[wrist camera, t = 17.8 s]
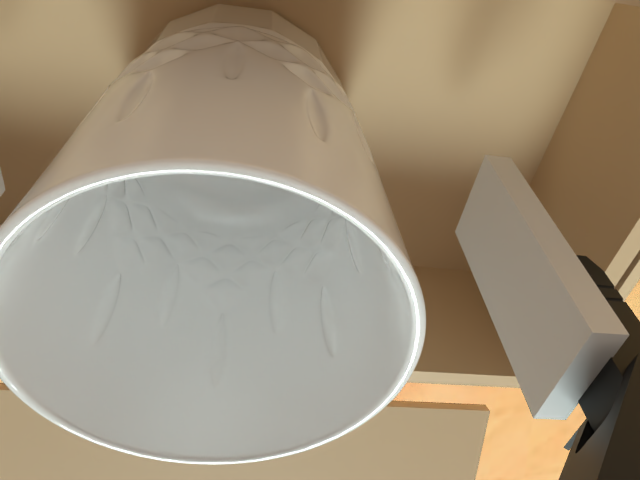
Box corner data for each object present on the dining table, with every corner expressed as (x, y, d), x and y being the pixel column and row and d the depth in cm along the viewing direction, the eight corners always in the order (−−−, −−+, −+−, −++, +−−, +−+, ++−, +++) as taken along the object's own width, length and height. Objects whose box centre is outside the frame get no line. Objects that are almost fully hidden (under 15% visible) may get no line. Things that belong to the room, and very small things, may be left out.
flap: (-71, 380, 16) (-62, 544, 18) (-79, 386, 16) (-70, 553, 17) (485, 404, 19) (455, 546, 20) (489, 411, 19) (459, 554, 20)
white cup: (136, -66, 14) (-35, 83, 6) (401, 37, 16) (514, 243, 9) (98, 176, 19) (-30, 437, 11) (311, 232, 21) (331, 485, 13)
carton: (-71, 228, 20) (-175, 353, 16) (-229, -218, 12) (-532, -235, 8) (505, 275, 24) (561, 390, 19) (668, -52, 16) (832, 5, 11)
